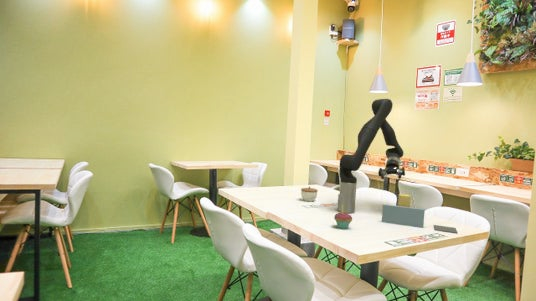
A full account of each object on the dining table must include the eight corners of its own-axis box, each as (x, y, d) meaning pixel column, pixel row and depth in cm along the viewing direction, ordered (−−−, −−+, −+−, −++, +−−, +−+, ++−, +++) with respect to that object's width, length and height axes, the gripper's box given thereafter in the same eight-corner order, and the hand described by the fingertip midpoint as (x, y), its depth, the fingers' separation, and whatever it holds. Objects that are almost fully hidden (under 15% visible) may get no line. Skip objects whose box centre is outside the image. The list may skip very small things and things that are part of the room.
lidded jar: (298, 201, 229) (299, 186, 229) (302, 198, 239) (303, 185, 239) (314, 203, 225) (315, 188, 225) (318, 200, 235) (319, 186, 235)
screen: (381, 221, 184) (382, 204, 183) (382, 221, 186) (383, 204, 185) (423, 227, 176) (424, 210, 175) (423, 226, 178) (424, 209, 177)
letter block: (396, 219, 191) (398, 194, 190) (406, 220, 190) (408, 194, 190) (399, 222, 186) (401, 195, 185) (408, 222, 185) (410, 196, 184)
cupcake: (348, 230, 162) (349, 205, 162) (330, 227, 167) (332, 202, 166) (353, 227, 169) (355, 202, 169) (337, 224, 174) (338, 200, 173)
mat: (434, 230, 172) (434, 229, 172) (433, 225, 181) (433, 224, 181) (457, 233, 168) (457, 232, 168) (455, 228, 177) (455, 227, 177)
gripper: (379, 159, 211) (376, 172, 197) (404, 158, 205) (403, 171, 191) (380, 170, 213) (378, 184, 200) (406, 169, 207) (405, 183, 194)
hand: (390, 177), depth 195 cm, fingers open, 8 cm apart
